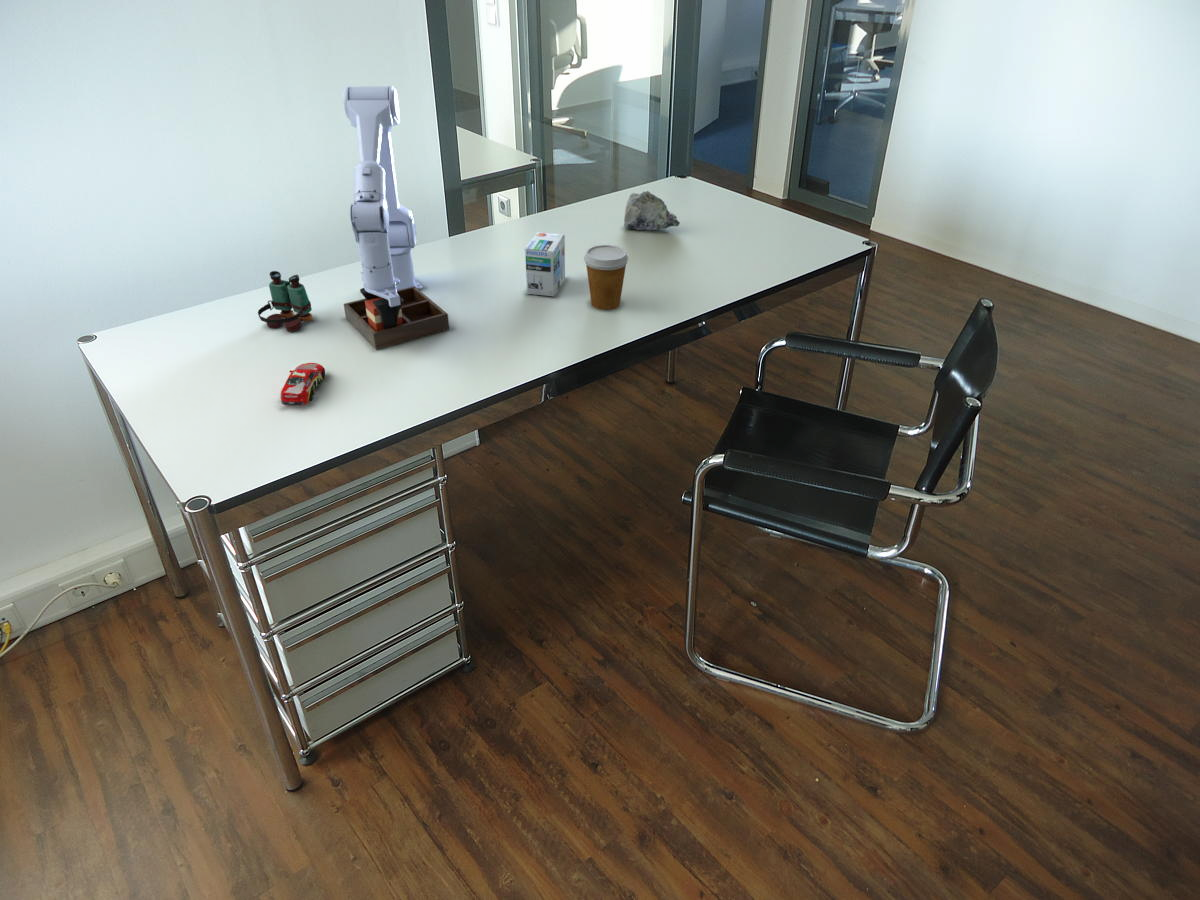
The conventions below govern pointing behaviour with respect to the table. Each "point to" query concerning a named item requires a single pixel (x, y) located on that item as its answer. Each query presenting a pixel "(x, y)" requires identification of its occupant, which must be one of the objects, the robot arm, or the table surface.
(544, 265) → the light bulb box
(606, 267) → the disposable coffee cup
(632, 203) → the mineral rock
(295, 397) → the race car
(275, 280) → the binoculars
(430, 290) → the table surface
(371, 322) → the red cream striped block
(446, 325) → the organiser
